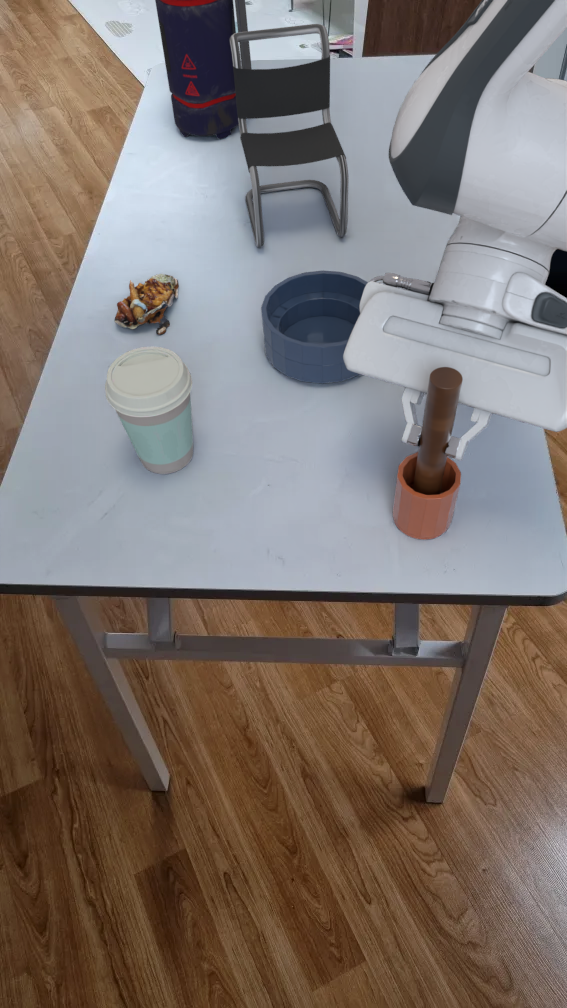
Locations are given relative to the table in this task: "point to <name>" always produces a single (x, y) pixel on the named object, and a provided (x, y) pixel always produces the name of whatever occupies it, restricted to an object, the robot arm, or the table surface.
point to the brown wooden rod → (437, 429)
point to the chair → (283, 97)
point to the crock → (424, 501)
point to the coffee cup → (154, 406)
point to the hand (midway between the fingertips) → (431, 451)
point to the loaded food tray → (148, 303)
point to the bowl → (311, 324)
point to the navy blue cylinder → (202, 62)
